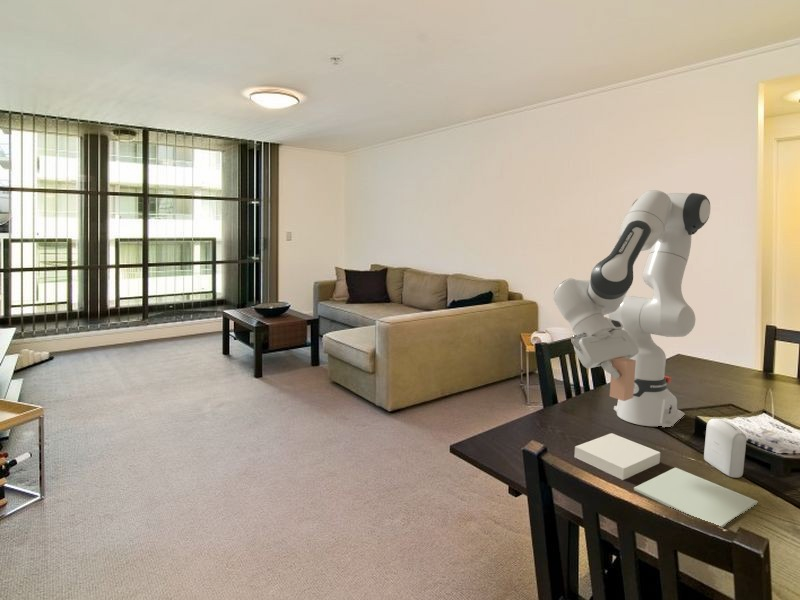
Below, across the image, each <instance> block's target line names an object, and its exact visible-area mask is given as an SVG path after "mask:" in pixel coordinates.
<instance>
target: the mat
mask: <svg viewBox="0 0 800 600" xmlns="http://www.w3.org/2000/svg"><path fill="white" fill-rule="evenodd" d="M633 491H635V492H637V493H639V494H641V495H643V496H645V497H647V498H650V499H652V500H654V501H655V502H658V503H659V504H662V505H664V506H666V507H668V508H670V507H671V508H670V509H672V508H674V509H676V510H679V511H681V512H684V513H686V514H689V515H691V516H694V517H697V518H700V519H702V520H705V521H708V522H711V523H714V524H716V525H719V526H721V527H722V528H724V527H725V526H727V525H728V524H729V523H728V522H730V521H731V520H732V519H734V518H735V517H737V516H739V515H740V514H742V513H743V514H744V513H746V512H747V511H749V510H750V509H752V508H753V507H755V506H756V505H758V504H757V503H758V502H759V501H758V500H756V499H754V498H752V497H749V496H746V495H744V494H741V493H738V492H736V491H734V490H732V489H729V488H727V487H725V486H721V485H719V484H717V483H714V482H712V481H710V480H707V479H705V478H702V477H700V476H697V475H695V474H693V473H690V472H687V471H685V470H683V469H680V468H678V467H674V468H671V469H669V470H667V471H665V472H663V473H661V474H659V475H657V476H655V477H653V478H651V479H649V480H647V481H644V482H642V483H641V484H638V485H637V486H634V487H633ZM754 505H755V506H754ZM751 507H752V508H751ZM674 509H673V510H674ZM748 509H749V510H748ZM676 510H675V511H676ZM745 511H746V512H745ZM743 514H742V515H743ZM740 516H741V515H740ZM740 516H739V517H740ZM737 518H738V517H737ZM734 520H735V519H734ZM731 522H732V521H731ZM731 522H730V523H731ZM727 523H728V524H727ZM726 524H727V525H726Z"/></svg>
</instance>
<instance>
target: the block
mask: <svg viewBox="0 0 800 600" xmlns="http://www.w3.org/2000/svg"><path fill="white" fill-rule="evenodd" d="M611 365H612V366H613V367H614V368H615V369H616V370H619V371H620V373H621V374H622V376H621V377H620V378H618V379H614V378H613V377H612V376H611V375H610V384H609V397H610V398H613V399H616V400H618V399H619V400H622V401H626V400H629V399H632V398H633V392H634V379H635V365H636V360H632V359H628V358H624V357H620V358H616V359H612V364H611Z"/></svg>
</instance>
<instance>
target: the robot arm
mask: <svg viewBox="0 0 800 600" xmlns="http://www.w3.org/2000/svg"><path fill="white" fill-rule="evenodd" d="M710 215H711V203H710V199H709V198H708V197H707V196H706V195H705V194H703V193H696V192H691V193H687V192H686V193H684V192H668V193H666V192H664V191H661V190H656V189H654V190H648V191H646V192H643V193H642V194H641V195H640V196H639V197H638V198H636V200H634V202H633V203H632V205H631V207H630V208H629V210H628V211H627V213H626V214H625V216H624V218H623V220H622V223H621V225H620V227H619V230H618V234H617V238H618V241H617V242H616V244H615V246H614V248H613V249H612V251H611V252H610V254H609V255H607V256H606V257H605V258H603V259H602V260H600V261H599V262H598V263H596V265H595V266H594V267H593V269H592V270H591V273H590V279H586V280H585V279H584V280H581V279H575V278H572V277H570V278H567V279H565V280H563V281H562V282H561V283H560V284H559V285H557V287H556V288H555V289H554V292H553V296H552V297H553V301H554V303H555V305H556V307H557V309H558V311H559V312H560V314H561V315H562V317H563V318H564V320H565V321H567V322H568V323H569V325H570V327H571V330H572V332H573V333H574V335H573V334H572V337H571V339H570V340H571V344H572V345H573V348H574V349H573V350H574V352H575V354H576V357H577V358H578V359H579V361H580V363H581V364H582V366H583V367H584V368H585V369H592V368H593V369H594V368H596V367H601V368H602V369H603V370H604V371H606V373H608V374H610V377H611V376H612V377H613V378H614V379H618V378H620V377H621V376H622V374H621V373H620V371H619V370H616V369H615V368H614V367H613V366H612V359H616V358H620V357H624V358H628V359H632V360H636V365H635V379H634V392H633V398H632V399H629V400H626V401H622V400H619V399H617V405H614V406H613V410H614V411H615V412H616V415H617V417H618V418H620V419H621V420H623V421H625V422H628V423H631V424H635V425H639V426H643V427H644V426H646V427H658V426H662V427H661V428H665V427H671V426H672V427H674V426H675V425H676V424H677V423H678V422H679V421H680V420H679V419H681V418H682V417H683V416H684V415H685V412H683V411H682V410H680V409H678V399H677V397H676V395H674V394H673V393H672V392H671V391H670V390H669V389H668V386H667V384H670V383H671V382H672V377H671V376H667V375H665V373H666V362H667V361H666V360H667V355H666V353H665V351H664V350H663V348H661V347H660V346H659V345H658V344H656V342H655V341H654V340H653V338H652V335H655V336H661V337H666V338H670V337H671V338H683V337H686V336H687V335H689V334H690V333H691V332H692V331H693V330H694V327H695V325H696V314H695V311H694V310H693V308H692V307H691V306H690V305H689V303H687V301H686V300H685V298H684V296H683V293H682V292H683V291H682V283H683V278H684V274H685V271H686V268H687V265H688V260H689V257H690V252H691V246H692V235H695V234H696V233H697V232H698V230H700V229H702V227H704V226H705V224H707V222H708V220H709V219H710ZM648 250H649V252H648V256H647V259H646V262H645V265H644V268H643V271H642V279H643V283H645V284H646V285H647V286H648V287H649V288H651V289H652V290H653V296H652V297H650V298H649V297H644V296H643V297H642V296H633V295H632V296H630V295H628V296H626V295H627V293H628V292H629V291H628V290H629V289H630V288H631V286H632V285H633V282H634V264H635V262H636V260H637V258H638V256H639V255H640V253H642V252H644V251H648ZM605 315H608V316H607V317H606V316H605ZM684 417H685V416H684ZM684 417H683V418H684ZM683 418H682V419H683ZM682 419H681V420H682ZM678 420H679V421H678ZM677 421H678V422H677ZM676 422H677V423H676ZM675 423H676V424H675ZM674 424H675V425H674ZM672 427H671V428H672Z"/></svg>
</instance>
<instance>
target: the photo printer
mask: <svg viewBox="0 0 800 600" xmlns="http://www.w3.org/2000/svg"><path fill="white" fill-rule="evenodd" d="M705 429H706V430H705V441H704V450H703V452H704V453H703V459H704V461H705V462H706V463H708V464H709V465H711V466H712V467H713V468H715V469H717V470H718V471H720V472H721V473H723V474H725V475H726V476H728V477H730V478H736V479H737V478H741V477H742V476H743V474H744V468H745V467H744V466H745V458H746V450H747V449H746V448H747V446H746V445H747V436H746V434H745V433H744V432H743V431H742V430H741V429H740V428H739V427H738V426H736V425H735V424H734V423H732V422H730V421H728V420H725V419H723V418H710V419H709V420H708V422H707V423H706V428H705Z"/></svg>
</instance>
